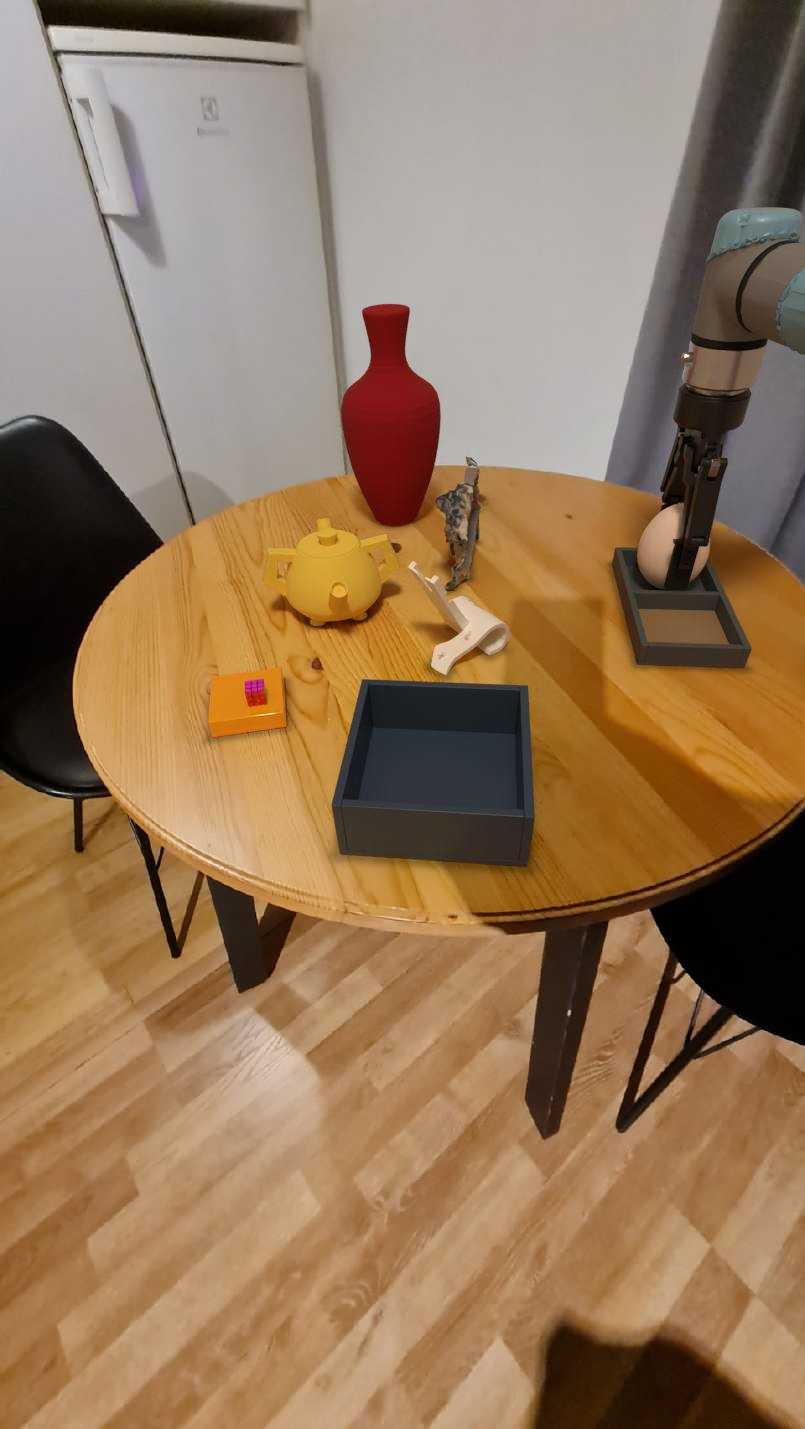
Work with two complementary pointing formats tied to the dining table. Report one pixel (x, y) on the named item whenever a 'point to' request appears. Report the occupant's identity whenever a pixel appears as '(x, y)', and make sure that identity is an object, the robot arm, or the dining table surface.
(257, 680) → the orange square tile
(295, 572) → the teapot
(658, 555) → the egg
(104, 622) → the dining table surface
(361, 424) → the vase
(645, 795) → the dining table surface
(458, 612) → the plastic part
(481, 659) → the dining table surface
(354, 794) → the tub
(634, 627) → the tray
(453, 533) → the grey mottled flat piece
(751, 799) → the dining table surface
